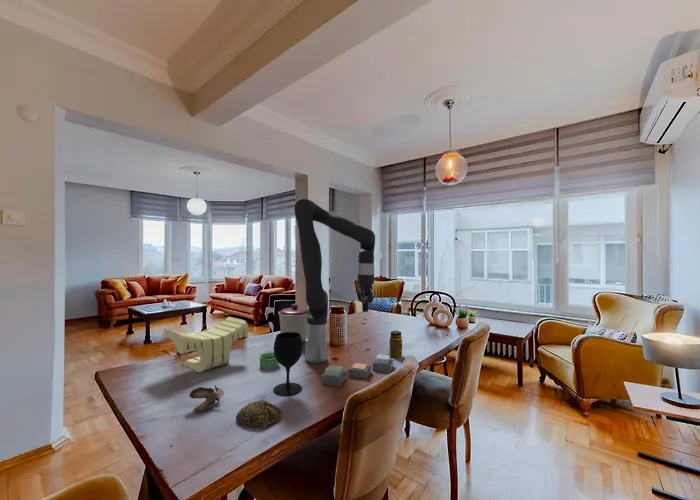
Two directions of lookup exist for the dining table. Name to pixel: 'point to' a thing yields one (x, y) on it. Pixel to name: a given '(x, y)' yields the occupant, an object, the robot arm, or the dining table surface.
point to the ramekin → (268, 360)
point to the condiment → (395, 345)
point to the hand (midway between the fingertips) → (365, 311)
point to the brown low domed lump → (259, 414)
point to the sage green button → (334, 370)
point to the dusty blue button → (383, 359)
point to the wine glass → (287, 359)
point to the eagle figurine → (207, 394)
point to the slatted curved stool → (210, 343)
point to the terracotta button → (360, 366)
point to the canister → (294, 320)
